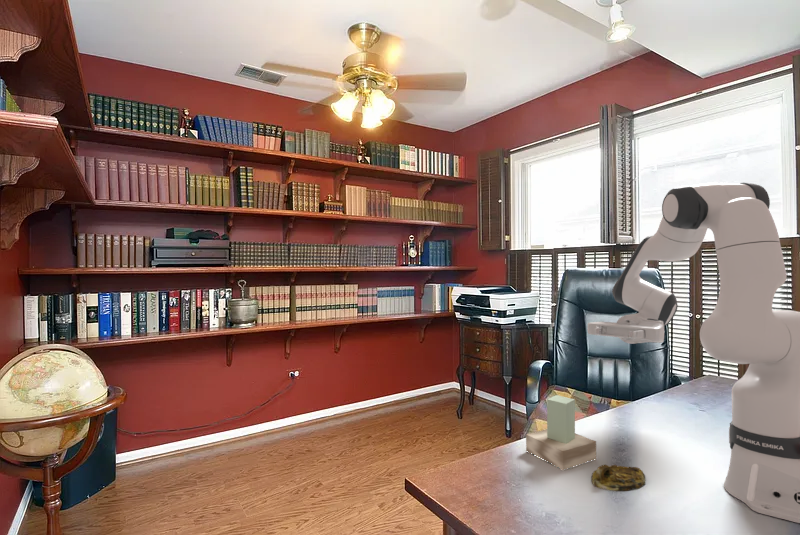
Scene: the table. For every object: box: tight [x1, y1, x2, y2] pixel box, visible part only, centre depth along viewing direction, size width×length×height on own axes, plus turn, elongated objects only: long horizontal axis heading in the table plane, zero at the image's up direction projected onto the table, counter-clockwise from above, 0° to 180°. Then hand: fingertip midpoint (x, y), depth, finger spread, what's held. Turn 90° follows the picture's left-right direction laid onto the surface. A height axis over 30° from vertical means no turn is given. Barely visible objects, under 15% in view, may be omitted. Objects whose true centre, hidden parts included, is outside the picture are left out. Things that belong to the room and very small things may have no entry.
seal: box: [591, 464, 646, 492], centre depth 97 cm, size 9×5×15 cm
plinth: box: [525, 428, 597, 471], centre depth 109 cm, size 12×12×5 cm
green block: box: [546, 394, 576, 444], centre depth 109 cm, size 5×5×10 cm
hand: (613, 333), depth 121 cm, fingers open, 8 cm apart
